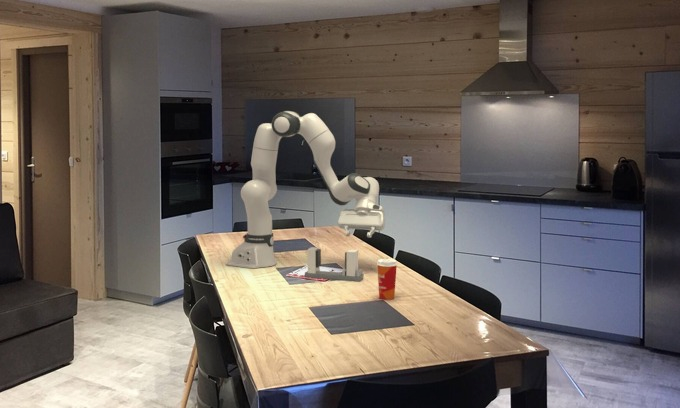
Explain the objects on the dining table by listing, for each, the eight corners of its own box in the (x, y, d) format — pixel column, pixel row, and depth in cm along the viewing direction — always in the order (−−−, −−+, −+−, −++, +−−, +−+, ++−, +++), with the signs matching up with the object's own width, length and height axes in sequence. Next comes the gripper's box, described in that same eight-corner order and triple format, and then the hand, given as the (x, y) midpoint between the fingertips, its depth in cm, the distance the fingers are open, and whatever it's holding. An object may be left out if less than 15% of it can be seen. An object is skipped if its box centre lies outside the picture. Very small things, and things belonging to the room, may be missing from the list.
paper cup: (375, 295, 252) (375, 258, 250) (395, 294, 253) (395, 258, 251) (377, 300, 244) (378, 263, 242) (398, 300, 245) (399, 262, 243)
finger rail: (304, 277, 280) (304, 249, 278) (308, 274, 284) (308, 246, 283) (360, 281, 273) (360, 252, 271) (363, 278, 277) (363, 250, 276)
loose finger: (344, 275, 274) (344, 251, 273) (348, 272, 279) (348, 249, 278) (354, 276, 273) (354, 252, 272) (358, 273, 278) (358, 249, 276)
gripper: (340, 204, 292) (333, 230, 284) (385, 206, 286) (379, 233, 278) (343, 213, 297) (336, 239, 289) (388, 215, 291) (382, 241, 283)
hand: (358, 236), depth 283 cm, fingers open, 8 cm apart
